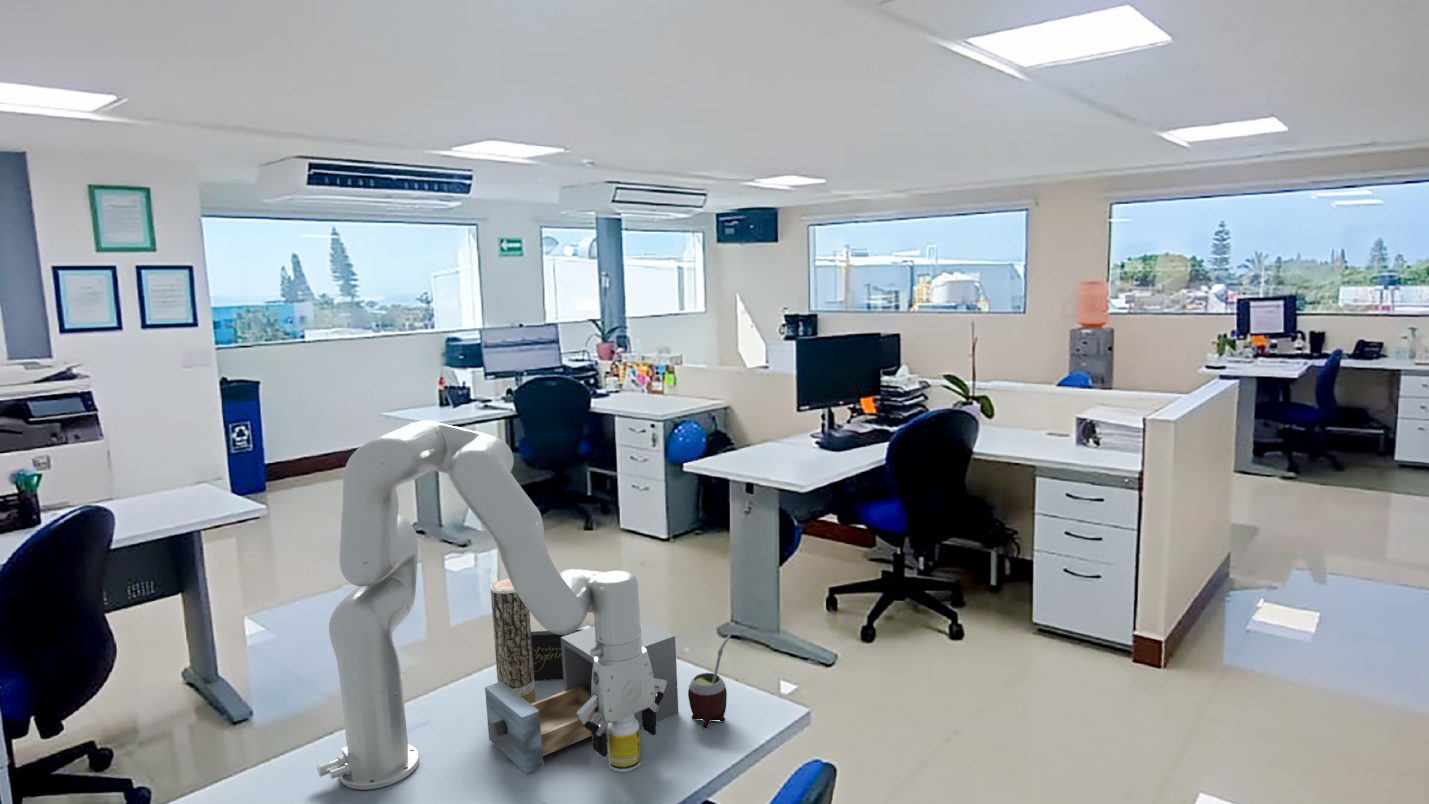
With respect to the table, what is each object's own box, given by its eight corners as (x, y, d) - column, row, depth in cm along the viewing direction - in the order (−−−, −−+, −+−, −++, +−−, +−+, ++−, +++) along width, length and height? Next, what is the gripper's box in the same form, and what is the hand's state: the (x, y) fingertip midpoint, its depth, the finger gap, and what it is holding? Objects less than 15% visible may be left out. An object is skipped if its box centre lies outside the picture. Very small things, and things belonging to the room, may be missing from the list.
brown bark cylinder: (540, 700, 168) (532, 578, 164) (529, 718, 161) (520, 591, 157) (506, 699, 168) (497, 578, 165) (494, 717, 162) (484, 591, 158)
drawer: (516, 777, 141) (512, 720, 139) (480, 742, 152) (476, 689, 150) (617, 735, 153) (614, 682, 151) (576, 705, 164) (573, 656, 162)
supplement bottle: (645, 768, 143) (642, 713, 142) (613, 776, 141) (610, 721, 140) (635, 752, 148) (633, 699, 147) (605, 759, 146) (602, 706, 145)
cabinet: (605, 743, 151) (601, 662, 149) (565, 713, 162) (560, 637, 160) (678, 712, 161) (675, 635, 159) (635, 685, 172) (632, 614, 170)
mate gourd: (685, 728, 155) (682, 650, 153) (695, 706, 163) (692, 632, 161) (725, 731, 154) (722, 652, 152) (733, 709, 161) (731, 634, 159)
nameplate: (517, 682, 176) (514, 636, 175) (519, 678, 178) (516, 632, 176) (619, 677, 177) (617, 631, 175) (620, 673, 178) (617, 627, 177)
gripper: (585, 670, 133) (592, 772, 136) (674, 637, 144) (680, 732, 146) (561, 655, 139) (569, 753, 142) (649, 624, 150) (655, 716, 152)
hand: (625, 742), depth 144 cm, fingers open, 9 cm apart
